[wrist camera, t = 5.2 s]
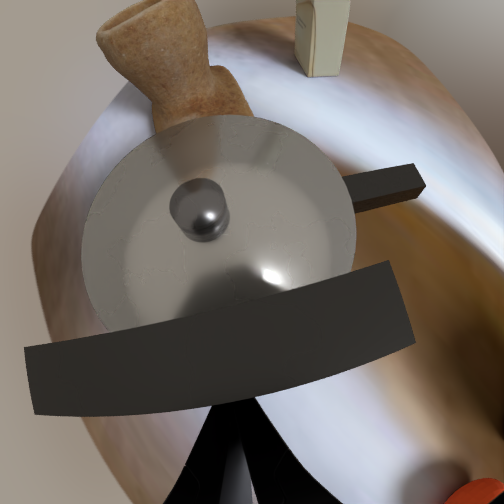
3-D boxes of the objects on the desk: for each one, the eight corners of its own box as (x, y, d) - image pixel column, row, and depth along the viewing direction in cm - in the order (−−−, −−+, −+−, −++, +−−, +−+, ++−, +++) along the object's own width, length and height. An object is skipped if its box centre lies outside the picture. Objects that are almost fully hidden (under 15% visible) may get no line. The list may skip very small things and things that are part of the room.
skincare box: (293, 55, 32) (293, -21, 21) (324, 53, 32) (329, -20, 21) (308, 79, 30) (312, -8, 19) (341, 77, 30) (352, -6, 19)
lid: (390, 330, 12) (512, 288, 4) (109, 396, 12) (-21, 407, 4) (297, 109, 17) (300, -3, 9) (95, 168, 17) (30, 84, 9)
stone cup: (141, 97, 32) (99, 5, 17) (229, 70, 32) (211, -31, 18) (144, 185, 26) (65, 65, 12) (263, 150, 26) (250, 3, 12)
